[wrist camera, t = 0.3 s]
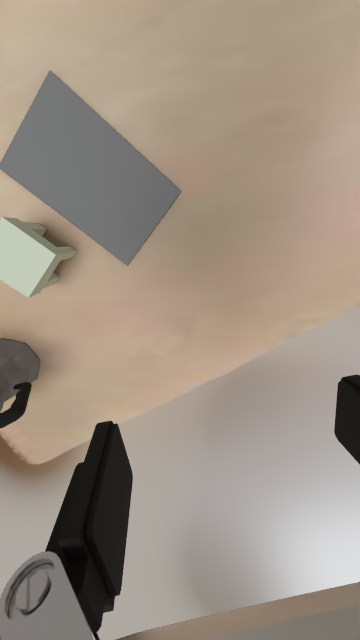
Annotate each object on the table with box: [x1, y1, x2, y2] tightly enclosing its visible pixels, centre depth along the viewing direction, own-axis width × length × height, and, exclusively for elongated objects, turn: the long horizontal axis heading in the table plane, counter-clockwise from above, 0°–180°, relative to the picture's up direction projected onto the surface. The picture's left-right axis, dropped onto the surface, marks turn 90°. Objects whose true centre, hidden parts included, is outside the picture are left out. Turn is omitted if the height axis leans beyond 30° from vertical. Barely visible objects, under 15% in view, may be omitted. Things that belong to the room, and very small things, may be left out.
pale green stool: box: [0, 217, 77, 298], centre depth 31 cm, size 6×6×8 cm
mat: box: [0, 71, 181, 265], centre depth 33 cm, size 13×20×1 cm, turn 51°
